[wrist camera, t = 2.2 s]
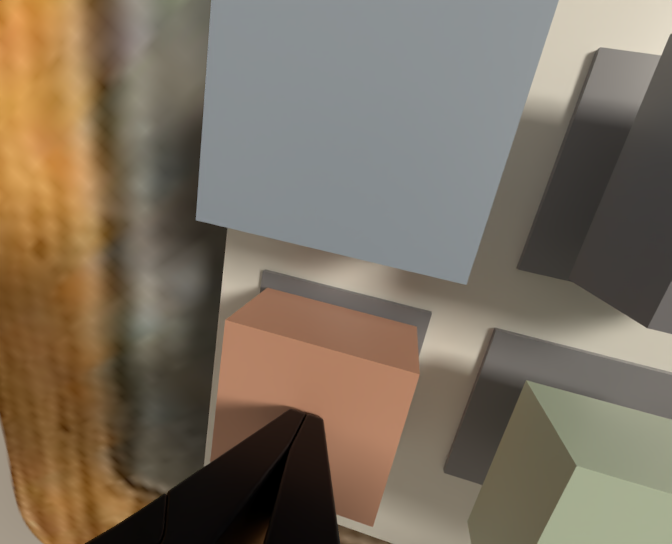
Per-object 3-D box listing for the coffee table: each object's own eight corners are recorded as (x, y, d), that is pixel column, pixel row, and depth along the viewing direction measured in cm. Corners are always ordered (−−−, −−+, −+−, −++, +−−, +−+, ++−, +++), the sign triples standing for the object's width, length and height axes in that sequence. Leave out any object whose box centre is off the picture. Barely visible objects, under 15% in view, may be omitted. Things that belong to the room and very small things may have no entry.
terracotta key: (417, 326, 10) (419, 374, 7) (380, 452, 11) (372, 527, 9) (267, 287, 10) (225, 319, 8) (249, 410, 12) (209, 470, 9)
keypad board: (941, -73, 8) (1145, -170, 5) (579, 557, 13) (611, 627, 11) (296, -125, 10) (266, -209, 8) (227, 440, 15) (199, 480, 13)
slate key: (518, 14, 6) (588, -89, 4) (447, 251, 8) (466, 285, 5) (284, -15, 7) (219, -120, 4) (257, 208, 8) (195, 220, 6)
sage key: (746, 439, 7) (909, 565, 5) (649, 581, 9) (740, 734, 6) (525, 379, 8) (576, 465, 6) (467, 521, 9) (488, 639, 7)
